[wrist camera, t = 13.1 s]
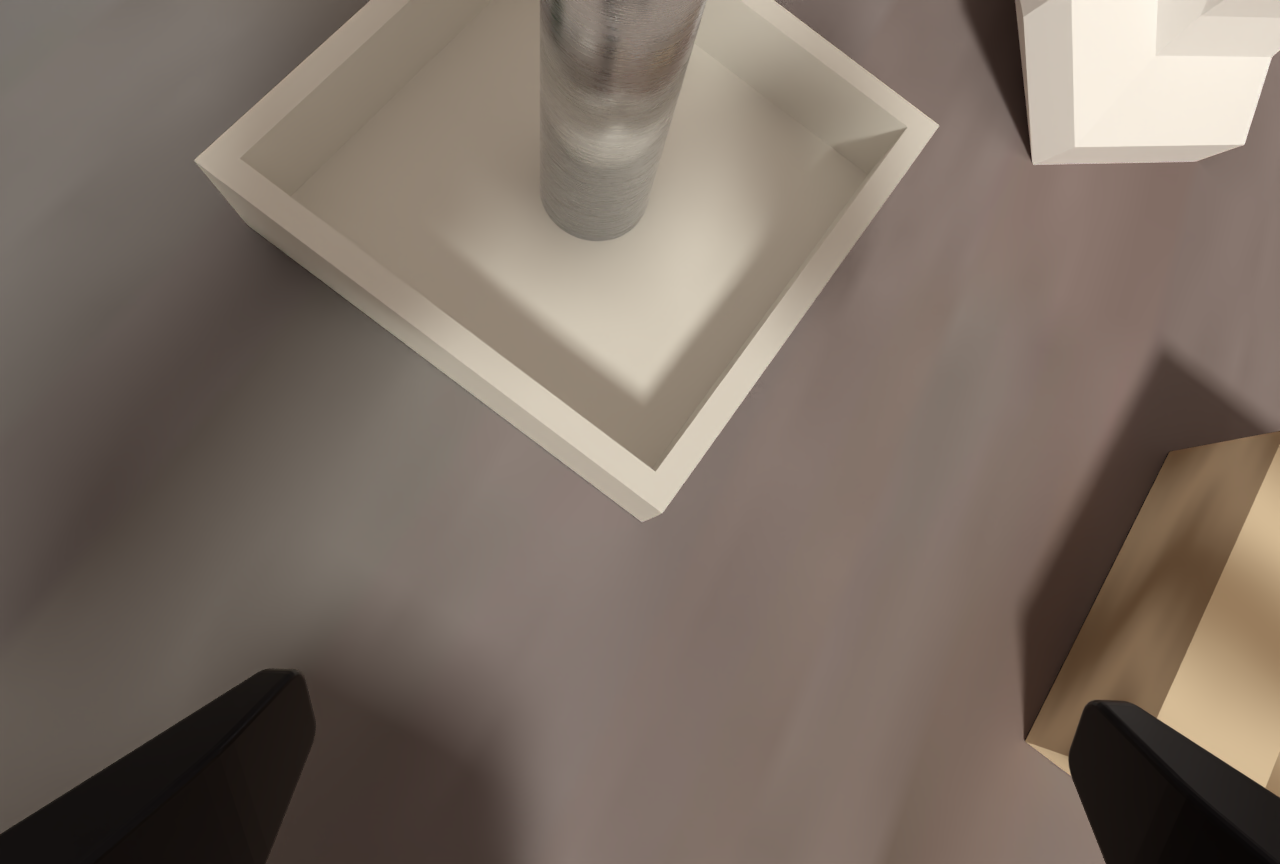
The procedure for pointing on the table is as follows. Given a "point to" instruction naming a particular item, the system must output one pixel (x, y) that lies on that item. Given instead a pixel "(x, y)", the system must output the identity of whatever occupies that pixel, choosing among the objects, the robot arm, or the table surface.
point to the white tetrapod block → (1142, 77)
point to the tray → (553, 259)
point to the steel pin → (608, 106)
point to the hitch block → (1190, 613)
